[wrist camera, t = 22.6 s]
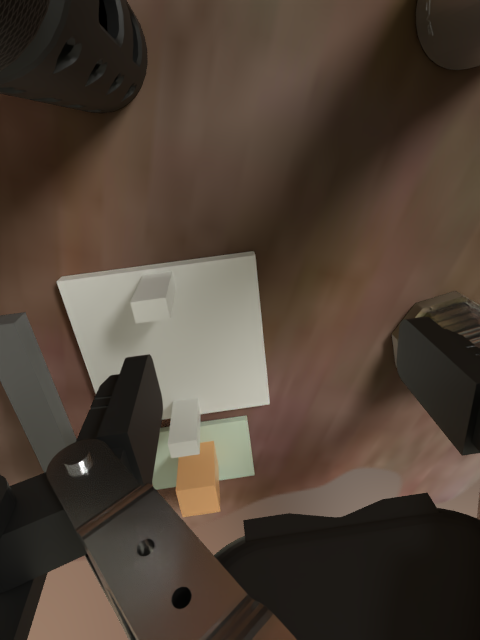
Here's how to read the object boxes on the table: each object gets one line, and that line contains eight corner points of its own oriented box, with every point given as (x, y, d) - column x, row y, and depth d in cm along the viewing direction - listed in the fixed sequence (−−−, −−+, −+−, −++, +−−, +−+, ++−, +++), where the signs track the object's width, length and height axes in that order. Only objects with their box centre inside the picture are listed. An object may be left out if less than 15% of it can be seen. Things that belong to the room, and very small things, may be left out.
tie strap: (25, 312, 31) (14, 322, 29) (91, 475, 39) (85, 491, 38) (-12, 317, 31) (-25, 328, 29) (62, 479, 39) (55, 496, 38)
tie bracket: (253, 250, 39) (265, 278, 32) (268, 396, 48) (279, 446, 40) (61, 276, 39) (26, 310, 31) (110, 419, 47) (91, 473, 40)
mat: (246, 415, 49) (247, 419, 48) (254, 470, 53) (254, 475, 53) (138, 430, 49) (137, 435, 48) (155, 485, 53) (154, 489, 52)
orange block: (213, 440, 49) (215, 485, 43) (221, 481, 53) (223, 528, 46) (179, 445, 49) (175, 491, 43) (189, 485, 52) (186, 533, 46)
